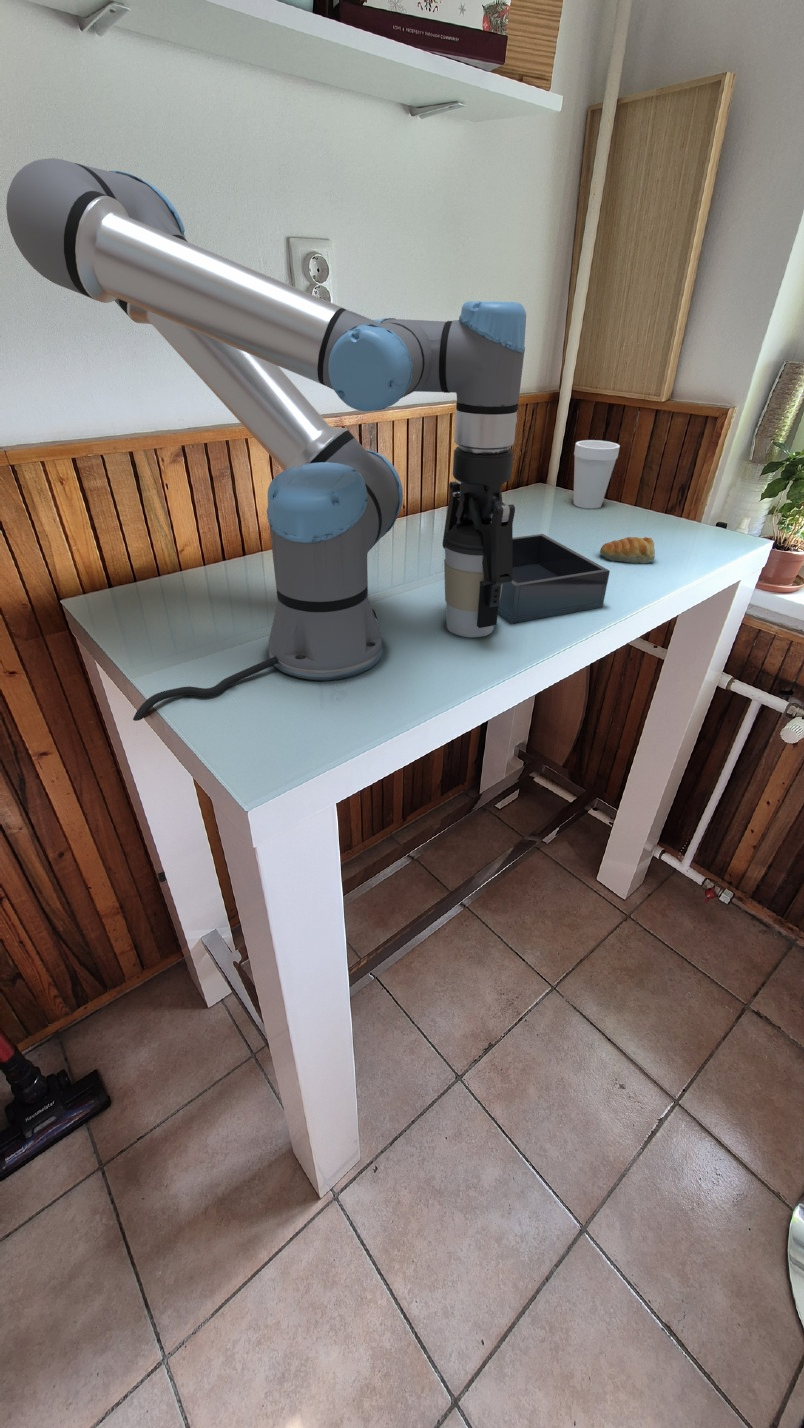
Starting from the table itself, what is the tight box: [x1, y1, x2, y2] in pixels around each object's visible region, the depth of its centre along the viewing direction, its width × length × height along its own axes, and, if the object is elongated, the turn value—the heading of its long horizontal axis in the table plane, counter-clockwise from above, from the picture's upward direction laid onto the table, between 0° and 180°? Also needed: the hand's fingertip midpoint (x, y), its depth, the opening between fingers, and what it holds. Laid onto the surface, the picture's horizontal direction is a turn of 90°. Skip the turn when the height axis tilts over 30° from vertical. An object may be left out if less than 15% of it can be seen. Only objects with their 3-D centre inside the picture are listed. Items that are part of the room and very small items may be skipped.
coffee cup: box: [442, 523, 503, 638], centre depth 91 cm, size 9×9×15 cm
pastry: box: [599, 536, 656, 564], centre depth 119 cm, size 9×7×4 cm
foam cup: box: [572, 439, 621, 509], centre depth 145 cm, size 10×9×13 cm
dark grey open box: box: [498, 533, 611, 625], centre depth 104 cm, size 17×19×6 cm
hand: (471, 612), depth 93 cm, fingers closed on coffee cup, 9 cm apart
